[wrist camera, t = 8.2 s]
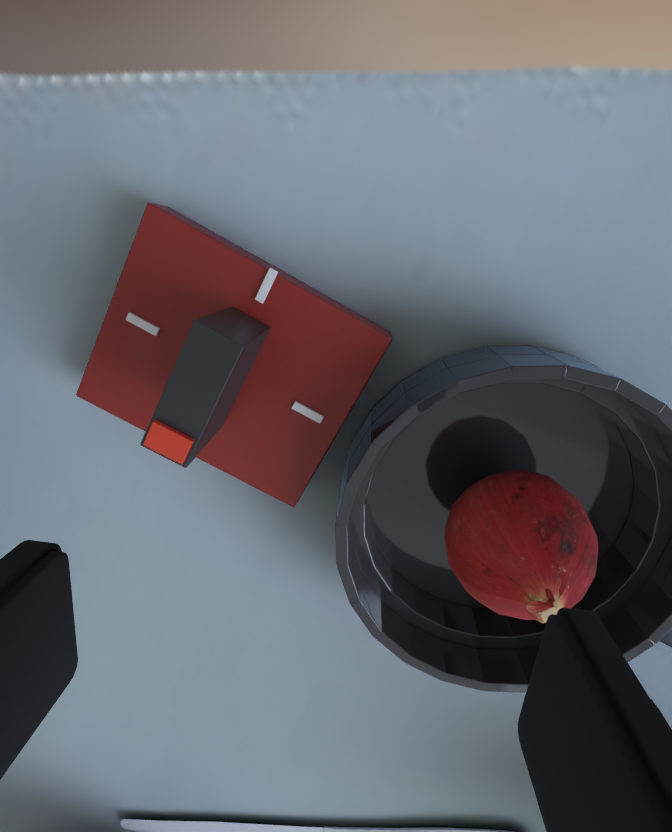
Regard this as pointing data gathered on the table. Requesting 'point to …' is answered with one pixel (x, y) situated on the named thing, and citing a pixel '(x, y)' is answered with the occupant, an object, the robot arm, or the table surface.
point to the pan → (489, 454)
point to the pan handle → (667, 638)
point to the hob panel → (272, 369)
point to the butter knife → (265, 827)
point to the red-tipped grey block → (204, 383)
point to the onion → (521, 545)
